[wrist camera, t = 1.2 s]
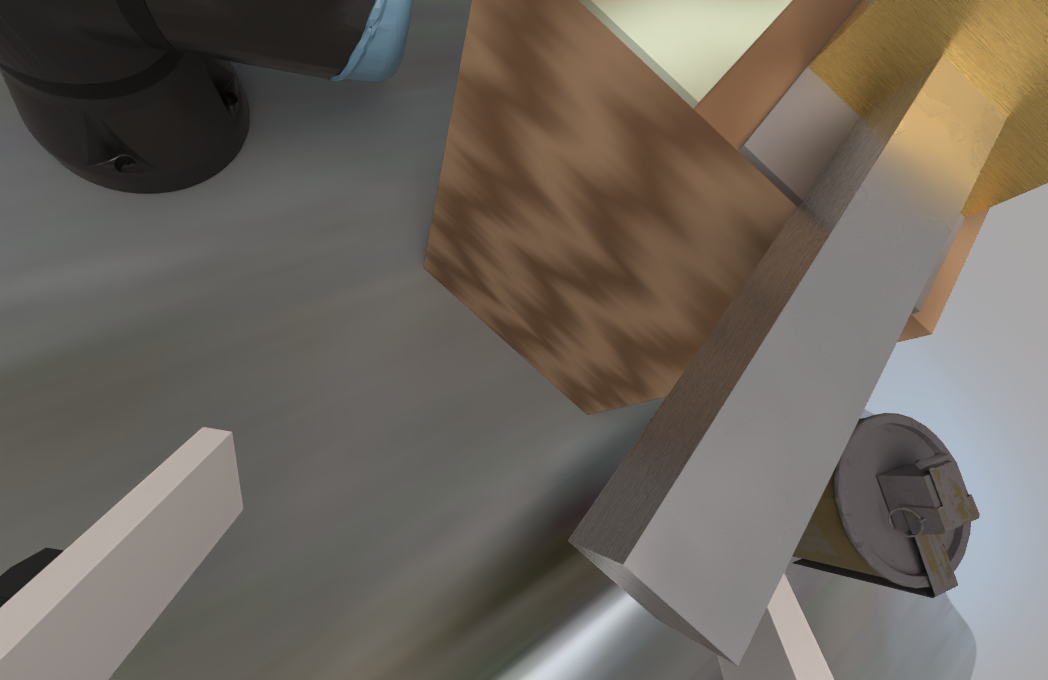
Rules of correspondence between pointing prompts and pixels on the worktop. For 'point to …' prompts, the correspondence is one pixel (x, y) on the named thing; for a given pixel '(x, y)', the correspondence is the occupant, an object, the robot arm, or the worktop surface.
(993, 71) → the handle bar
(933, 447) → the canister
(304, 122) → the worktop surface
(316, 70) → the robot arm
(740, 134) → the wood grain box
